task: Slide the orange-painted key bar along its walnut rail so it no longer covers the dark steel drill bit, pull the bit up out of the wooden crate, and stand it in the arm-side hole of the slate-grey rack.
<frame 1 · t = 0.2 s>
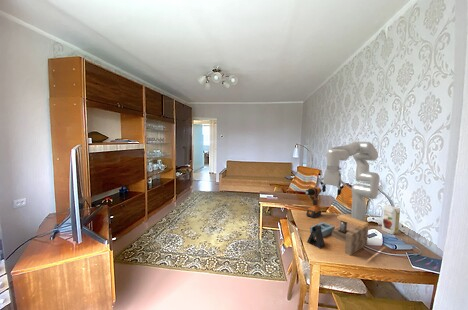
hand: (331, 193, 132), 31 cm above the table, tool pointing down, fingers open, 9 cm apart
power drill: (312, 216, 172), on the table
juice carton: (389, 232, 144), on the table
rack: (322, 233, 140), on the table
wooden crate: (342, 238, 133), on the table
drill bit: (342, 237, 133), point 1 cm above the table, touching wooden crate
key bar: (342, 238, 133), resting on wooden crate, slide at 0.0 cm
black a-frame stand: (315, 244, 125), on the table
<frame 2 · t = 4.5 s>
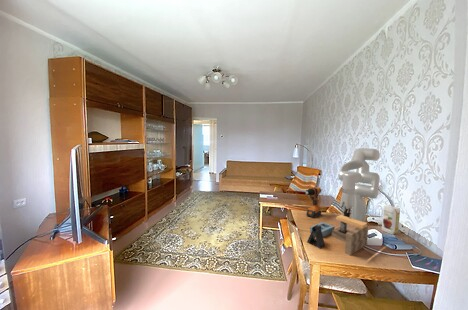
hand: (346, 217, 133), 14 cm above the table, tool pointing down, fingers closed
key bar: (341, 239, 132), resting on wooden crate, slide at 1.3 cm, touching gripper
everything else where it was.
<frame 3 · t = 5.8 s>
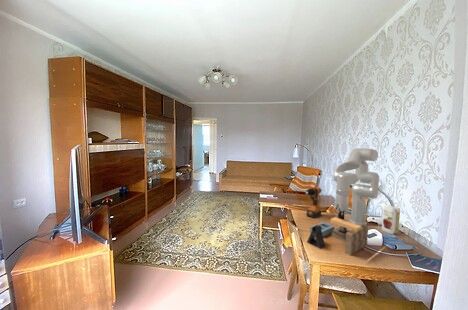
hand: (341, 220, 129), 14 cm above the table, tool pointing down, fingers closed
key bar: (335, 242, 128), resting on wooden crate, slide at 8.8 cm, touching gripper
everything else where it was.
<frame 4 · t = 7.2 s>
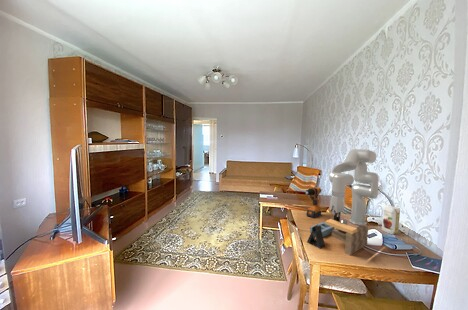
hand: (336, 221, 126), 14 cm above the table, tool pointing down, fingers closed
key bar: (331, 244, 124), resting on wooden crate, slide at 14.4 cm, touching gripper
everything else where it was.
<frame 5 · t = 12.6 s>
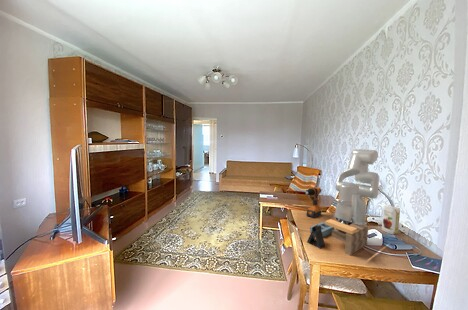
hand: (343, 228, 132), 7 cm above the table, tool pointing down, fingers closed on drill bit, 4 cm apart
drill bit: (342, 237, 133), point 1 cm above the table, touching gripper, wooden crate
key bar: (331, 244, 124), resting on wooden crate, slide at 14.7 cm
everything else where it was.
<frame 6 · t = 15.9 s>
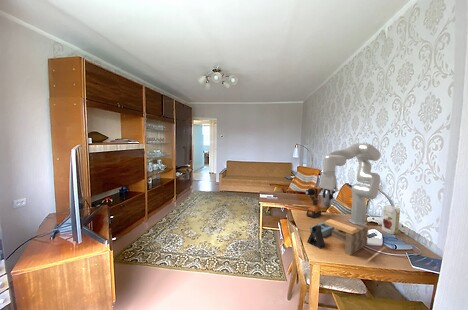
hand: (327, 198, 139), 25 cm above the table, tool pointing down, fingers closed on drill bit, 4 cm apart
drill bit: (327, 206, 139), point 19 cm above the table, touching gripper
everything else where it was.
when the fingers open (9 cm above the table, at t = 19.5 s): drill bit drops 2 cm, resting on rack.
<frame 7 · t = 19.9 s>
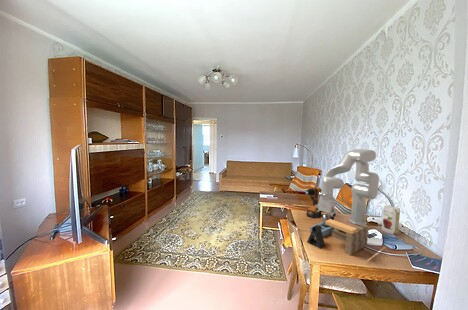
hand: (325, 219, 141), 10 cm above the table, tool pointing down, fingers open, 8 cm apart
drill bit: (325, 230, 141), point 1 cm above the table, touching rack
everything else where it was.
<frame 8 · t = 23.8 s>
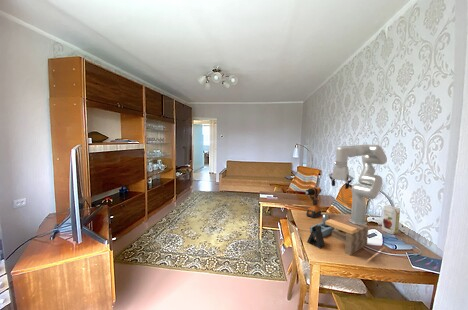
hand: (339, 187, 143), 32 cm above the table, tool pointing down, fingers open, 9 cm apart
nothing on the table moved.
at the end: key bar slide at 14.7 cm; drill bit 0.1 cm from the target spot on the rack, point 1.0 cm above the rack's base; the gripper is holding nothing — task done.
